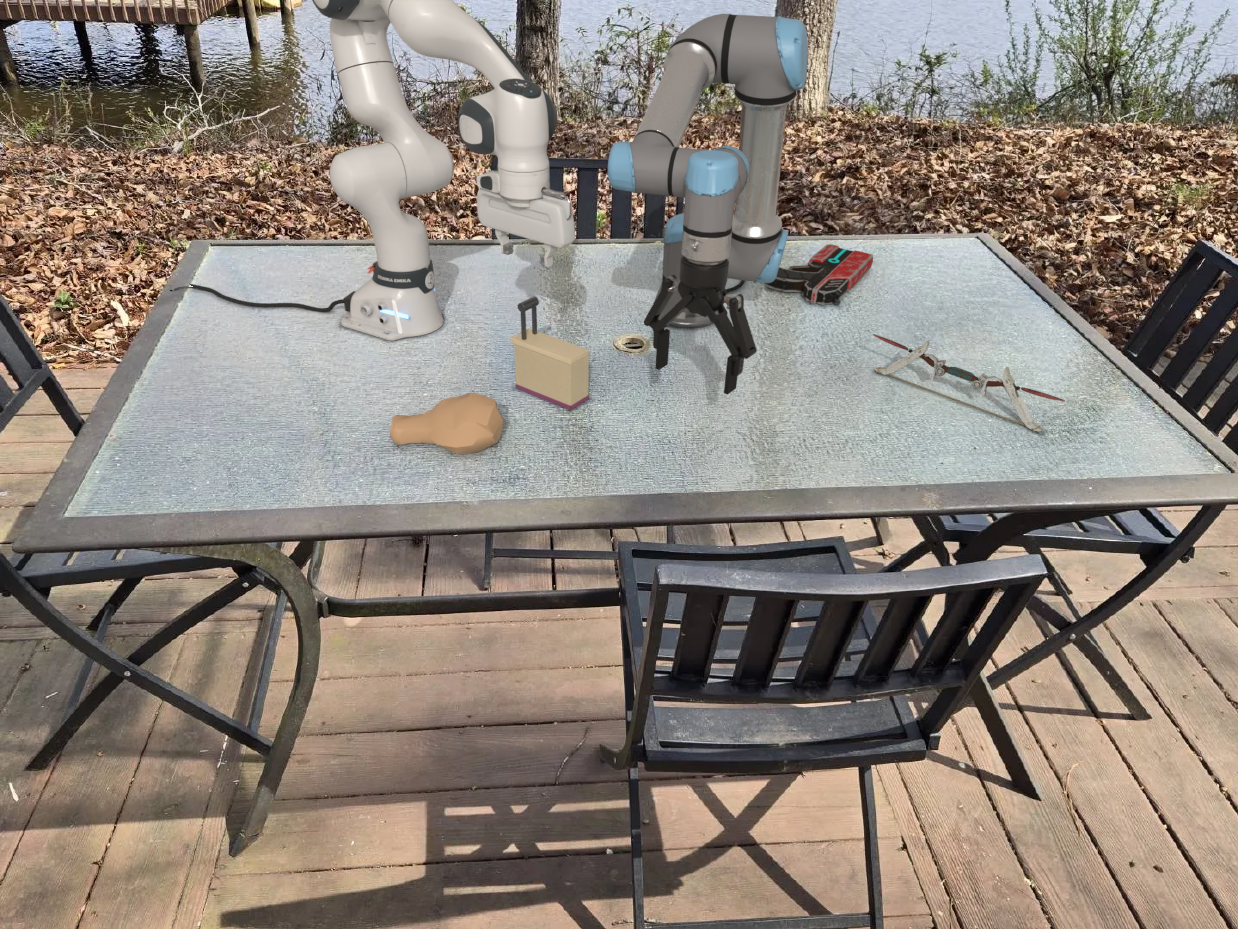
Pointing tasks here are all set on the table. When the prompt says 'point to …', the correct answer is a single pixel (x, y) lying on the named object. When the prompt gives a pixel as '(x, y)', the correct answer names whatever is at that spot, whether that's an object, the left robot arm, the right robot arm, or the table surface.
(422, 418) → the squash
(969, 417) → the table surface
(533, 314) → the lid
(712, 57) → the right robot arm
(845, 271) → the gun
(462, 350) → the table surface
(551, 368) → the chest
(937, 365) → the bow
